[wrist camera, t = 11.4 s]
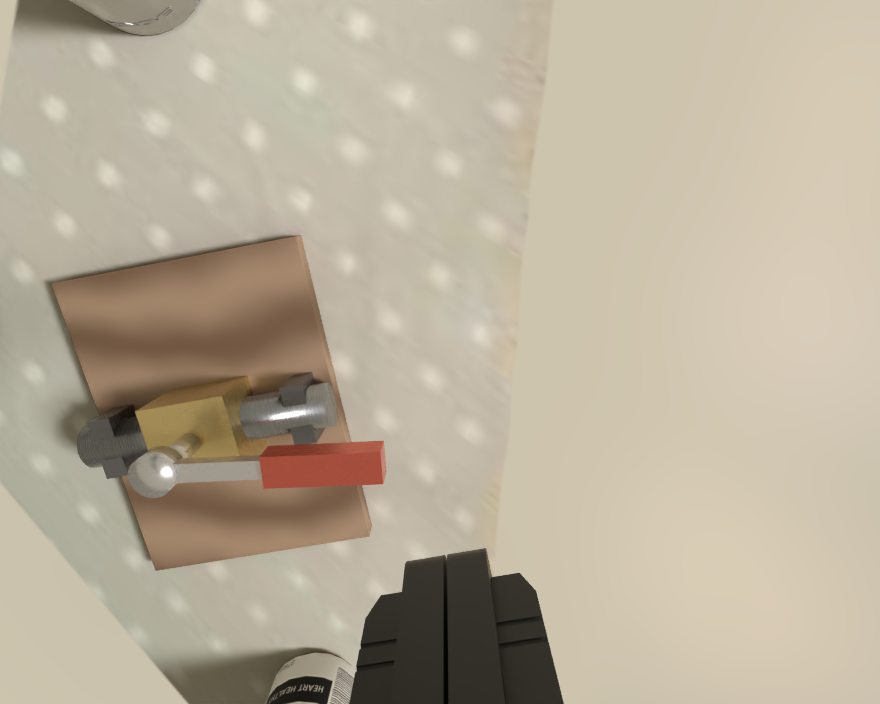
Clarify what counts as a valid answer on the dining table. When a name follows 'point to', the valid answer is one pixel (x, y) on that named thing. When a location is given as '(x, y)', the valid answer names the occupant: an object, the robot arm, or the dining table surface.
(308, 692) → the supplement can
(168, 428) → the pipe valve
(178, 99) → the dining table surface
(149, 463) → the valve lever
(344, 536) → the valve board
